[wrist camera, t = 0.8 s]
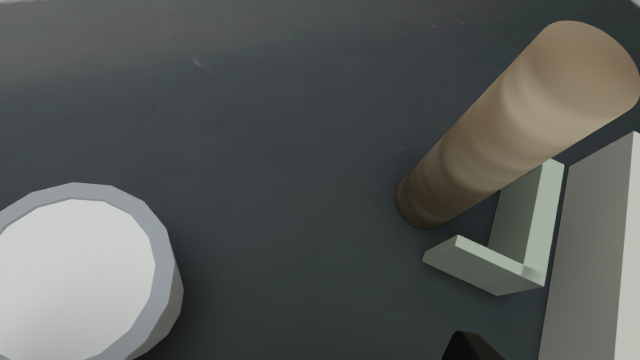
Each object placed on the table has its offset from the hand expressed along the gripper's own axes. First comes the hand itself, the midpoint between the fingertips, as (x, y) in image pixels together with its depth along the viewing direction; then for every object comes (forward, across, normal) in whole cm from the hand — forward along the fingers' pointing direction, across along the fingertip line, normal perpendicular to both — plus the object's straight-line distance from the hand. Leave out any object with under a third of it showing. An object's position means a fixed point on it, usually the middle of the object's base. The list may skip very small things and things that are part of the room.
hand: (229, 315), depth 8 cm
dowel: (+16, -10, +4) cm, 19 cm away
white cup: (+10, +6, +10) cm, 15 cm away
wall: (+13, -19, +6) cm, 24 cm away
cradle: (+15, -13, +5) cm, 20 cm away
